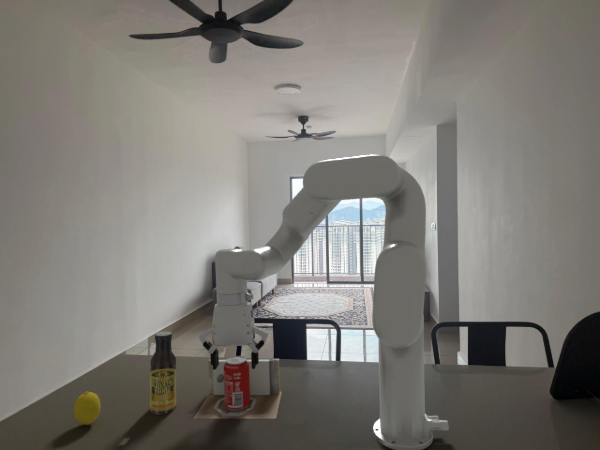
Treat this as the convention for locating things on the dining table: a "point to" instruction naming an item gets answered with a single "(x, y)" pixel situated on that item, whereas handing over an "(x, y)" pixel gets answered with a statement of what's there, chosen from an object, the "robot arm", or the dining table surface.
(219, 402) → the grey octagonal ring
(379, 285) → the robot arm
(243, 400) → the beverage can
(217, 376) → the door
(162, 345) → the sauce bottle
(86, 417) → the lemon
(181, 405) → the dining table surface
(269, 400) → the base
